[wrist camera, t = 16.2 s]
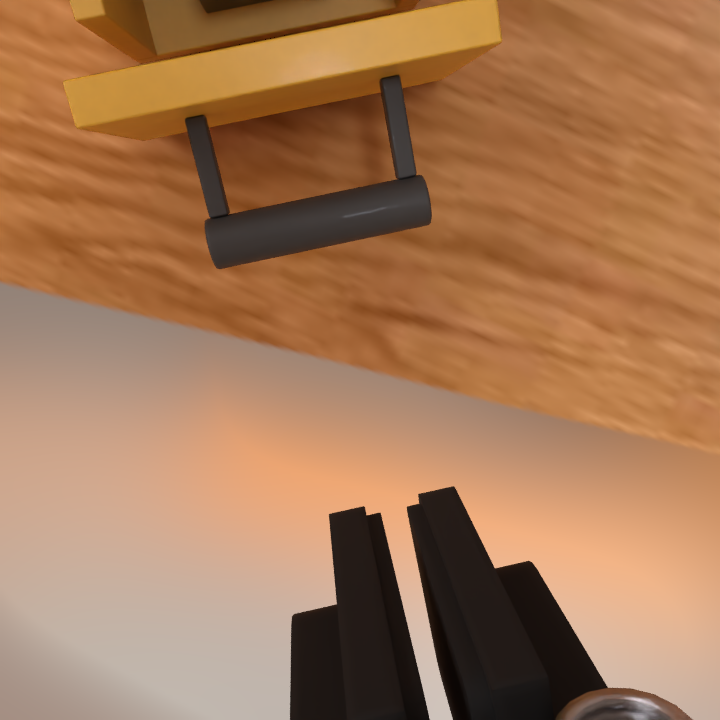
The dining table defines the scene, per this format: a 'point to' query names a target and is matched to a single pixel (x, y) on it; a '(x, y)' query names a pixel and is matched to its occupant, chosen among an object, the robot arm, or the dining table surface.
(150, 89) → the yellow drawer
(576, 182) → the dining table surface
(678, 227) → the dining table surface
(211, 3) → the block
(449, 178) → the dining table surface
